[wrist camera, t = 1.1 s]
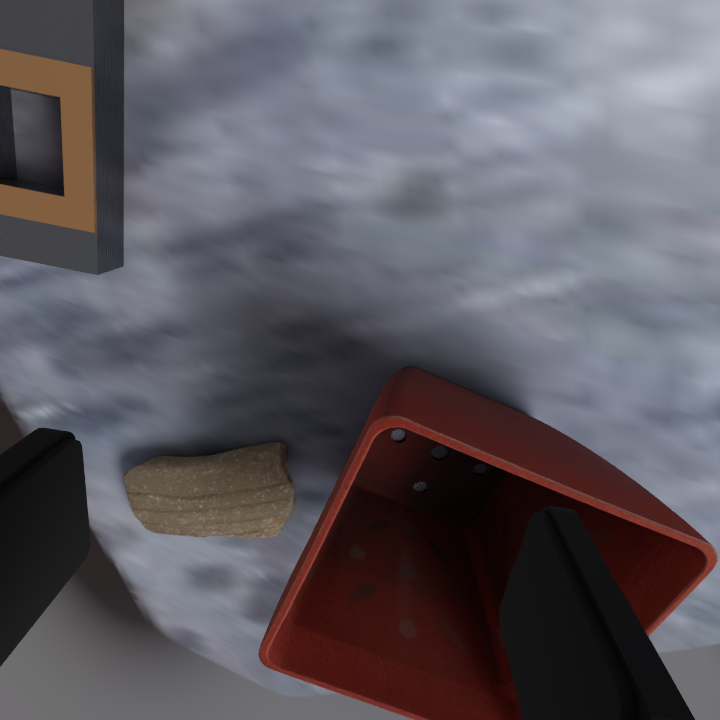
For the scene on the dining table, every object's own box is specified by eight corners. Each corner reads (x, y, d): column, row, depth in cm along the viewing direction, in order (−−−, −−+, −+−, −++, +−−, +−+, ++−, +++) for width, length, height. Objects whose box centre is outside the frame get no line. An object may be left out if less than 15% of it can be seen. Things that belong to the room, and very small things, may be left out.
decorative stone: (126, 450, 44) (105, 472, 40) (289, 434, 42) (281, 455, 39) (157, 535, 47) (140, 561, 44) (309, 523, 46) (303, 549, 42)
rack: (-56, -306, 26) (-126, -383, 22) (124, -267, 26) (82, -337, 22) (-4, 241, 37) (-45, 248, 33) (123, 266, 37) (95, 275, 33)
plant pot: (299, 493, 44) (250, 668, 28) (382, 312, 37) (379, 409, 22) (482, 563, 46) (531, 763, 30) (592, 402, 39) (730, 553, 23)
